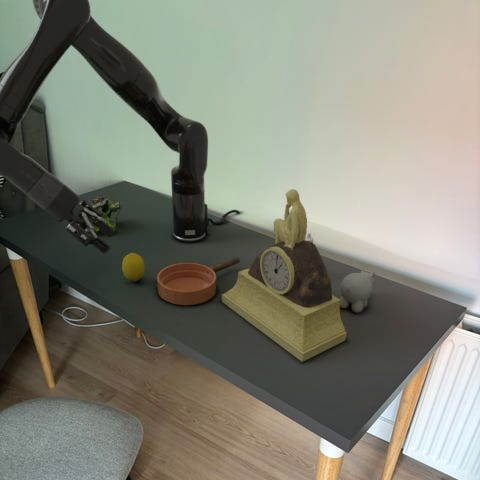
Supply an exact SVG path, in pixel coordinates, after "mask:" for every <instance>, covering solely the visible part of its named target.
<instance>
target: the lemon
mask: <svg viewBox="0 0 480 480" xmlns="http://www.w3.org/2000/svg"><path fill="white" fill-rule="evenodd" d="M121 270H122V274H123V275H124V277H125V278H126V279H127V280H129V281H132V282H134V283H135V282H137V281H139V280H141V279H142V278H143V277H144V275H145V272H146V265H145V261H144V258H142V256H141V255H140V254H138V253H135V252H129V253H128V254H127V255H125V256H124V258H123V260H122V263H121Z"/></svg>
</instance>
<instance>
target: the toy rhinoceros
mask: <svg viewBox="0 0 480 480" xmlns="http://www.w3.org/2000/svg"><path fill="white" fill-rule="evenodd" d="M375 273H376V272H368V271H365V269H364V268H363V267H362V268H361V269H360V272H352V273H350V274H347V275H346V276H345V277H344V278H343V279H342V281H341V284H340V293H341V296H340V297H339V299H340V308H341V309H348V308H349V305H350V306H351V311H352V312H354V313H355V314H356V313H361V312H362V311H363V310H364V308H366V307H367V305H368V299H369V298H370V296H371V294H372V292H373V285H374V283H375V279H374V277H375Z"/></svg>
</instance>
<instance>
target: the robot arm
mask: <svg viewBox="0 0 480 480" xmlns="http://www.w3.org/2000/svg"><path fill="white" fill-rule="evenodd" d="M32 5H33V9H34V10H35V13H36V15H37V17H38V18H39V20H40V21H39V24H38V26H37V29H36V31H35V33H34V35H33V36H32V39H31V40H30V41H29V43H28V44H27V45H26V47H25V48H24V49H23V50H22V52H20V54H18V56H16V58H15V59H14V60H13V61H12V62H11V63H10V64H9V66H8V67H7V68H6V69H5V70H4V72H3V73H2V75H1V77H0V176H1V177H3V178H4V179H6V180H8V181H9V182H10V183H11V184H12V185H13V186H14V187H16V188H17V189H18V190H20V191H21V192H22V193H23V194H25V195H26V196H27V197H28V198H29V199H30V200H31V201H32V202H33V203H34V204H36V205H37V206H38V207H39V208H40V209H41V210H43V211H44V212H45V213H47V215H49V216H50V217H52V218H53V219H55V220H56V221H57V222H59V223H60V222H63V221H66V222H67V223H68V224H67V226H65V230H66V232H67V233H69V234H70V235H71V236H72V237H73V238H75V239H76V240H78V242H80V243H81V244H82V245H83V246H85V247H87V246H89V245H92V246H93V247H95V248H96V249H97V250H98V251H99V252H101V253H102V254H106V253H107V252H108V251H109V250H110V248H111V246H110V245H109V244H108V243H107V242H106V241H105V240H103V239H102V238H101V237H100V236H98V235H97V234H96V232H94V231H93V226H95V227H98V229H99V232H101V233H102V234H104V235H105V236H106V237H107V238H109V239H110V238H112V237H113V236H114V235H115V233H116V229H115V230H114V228H112V227H110V226H109V225H108V223H105V222H104V219H103V218H102V217H103V215H102V213H100V212H99V211H98V210H96V209H95V208H94V207H93V206H94V205H92V204H91V203H89V202H88V201H87V200H85V199H82V200H81V196H80V195H78V194H77V193H76V192H75V191H74V190H72V189H71V188H70V187H69V186H68V185H66V183H64V182H63V181H61V179H59V178H58V177H56V176H55V175H54V174H52V173H51V172H50V171H48V170H46V168H44V167H43V166H42V165H40V164H39V163H38V162H37V161H35V160H34V159H33V158H32V157H30V156H29V155H27V154H24V153H22V152H21V151H19V150H18V149H17V148H15V147H14V146H13V145H12V144H11V142H12V140H13V139H14V135H15V133H16V131H17V129H18V127H19V124H20V123H21V122H22V120H23V119H24V118H25V116H26V114H27V112H28V111H29V109H30V107H31V105H32V103H33V102H34V100H35V98H36V96H37V94H38V93H39V91H40V90H41V88H42V86H43V84H44V83H45V81H46V80H47V78H48V77H49V75H50V74H51V72H52V71H53V69H54V68H55V67H56V65H57V64H58V63H59V61H60V60H61V59H62V57H63V56H64V55H65V53H67V51H68V50H69V49H70V47H73V48H74V49H75V50H76V51H77V52H78V53H79V54H80V55H81V56H82V57H83V59H84V60H85V61H86V62H87V63H88V65H89V66H90V67H91V68H92V69H93V70H94V71H95V73H96V74H98V76H99V77H100V78H101V80H102V81H103V82H104V83H106V85H107V86H108V87H109V88H110V90H112V91H113V92H114V93H115V94H116V95H117V96H118V97H119V98H120V99H121V100H122V101H123V102H124V103H125V104H126V105H127V106H128V107H130V109H132V110H133V111H134V112H135V113H136V115H138V116H139V117H140V118H142V119H143V120H144V121H146V122H147V123H148V124H149V126H150V127H151V128H152V130H154V132H155V133H156V134H157V135H158V137H159V138H160V140H161V141H162V142H163V143H164V144H165V145H166V146H167V147H168V149H170V150H171V151H173V152H175V153H177V154H179V156H178V157H179V158H178V159H179V160H178V165H175V166H174V167H172V168H171V170H170V181H171V183H170V184H171V200H172V201H171V202H172V224H173V226H172V228H173V232H172V235H173V238H174V239H175V240H176V241H178V242H183V243H197V242H200V241H203V240H204V239H205V238H206V236H208V234H209V233H208V232H209V231H208V230H209V229H208V227H209V226H210V223H211V224H212V225H222V224H224V223H226V222H227V218H226V217H227V216H229V215H231V214H234V213H236V214H237V215H238V214H241V212H240V210H237V209H232V210H229V211H227V212H226V213H223V215H222V216H221V218H222V220H219V221H214V220H213V219H212V218H210V217H208V204H207V203H206V200H205V199H206V198H205V196H206V195H205V191H206V190H205V176H206V175H205V174H206V172H207V168H208V159H209V158H208V157H209V134H208V131H207V128H206V127H205V125H204V124H203V123H201V122H199V121H197V120H194V119H191V118H189V117H185V116H184V115H182V114H181V113H179V112H178V111H177V110H176V109H175V108H173V107H172V106H171V105H170V104H169V102H167V100H166V99H165V97H164V96H163V94H162V91H161V88H160V86H159V84H158V81H157V79H156V78H155V76H154V75H153V74H152V72H151V71H150V70H149V69H148V67H146V66H145V64H144V63H143V62H142V61H141V60H140V59H139V58H138V56H137V55H135V54H134V53H133V52H132V50H131V51H130V49H129V48H128V47H126V46H125V45H124V44H123V43H121V42H120V41H119V40H118V39H116V38H115V37H114V36H113V35H112V34H110V33H109V32H108V31H106V30H105V29H104V28H103V27H102V26H101V25H100V24H99V22H97V21H96V20H95V18H94V17H93V16H92V15H91V13H92V12H91V4H90V0H32ZM80 200H81V201H80ZM96 214H97V215H96ZM89 233H90V234H89Z"/></svg>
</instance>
